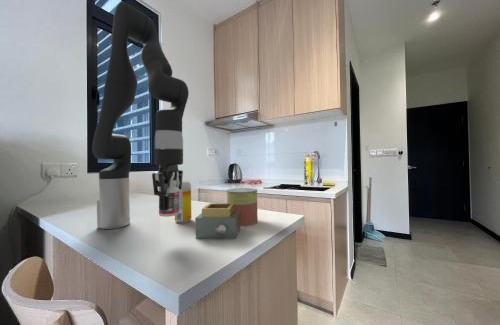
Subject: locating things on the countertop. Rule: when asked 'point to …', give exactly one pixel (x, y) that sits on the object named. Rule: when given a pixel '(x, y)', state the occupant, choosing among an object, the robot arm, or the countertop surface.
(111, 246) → the countertop surface
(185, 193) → the beer can
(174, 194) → the pill bottle
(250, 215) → the canned food
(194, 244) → the countertop surface
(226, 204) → the gold grey hollow block
